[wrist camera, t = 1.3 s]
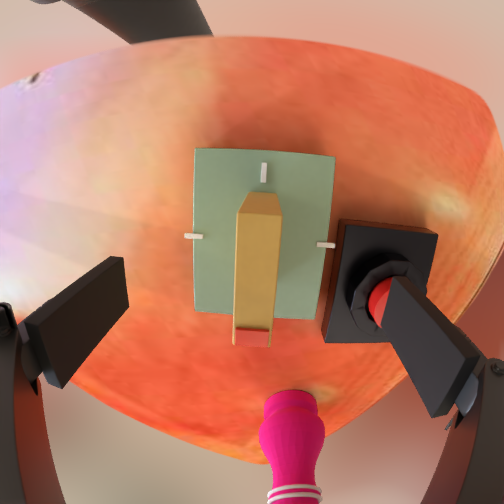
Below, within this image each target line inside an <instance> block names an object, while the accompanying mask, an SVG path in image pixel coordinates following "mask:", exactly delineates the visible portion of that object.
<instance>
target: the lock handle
mask: <svg viewBox="0 0 504 504" xmlns="http://www.w3.org/2000/svg"><path fill="white" fill-rule="evenodd" d="M282 222H283V215H282V211H281V208H280V204H279V200H278V197H277V194H276V193H264V192H249V193H248V194H247V196H246V198H245V200H244V202H243V203H242V205H241V207H240V209H239V211H238V212H237V222H236V247H235V275H234V306H233V345H239V346H252V347H270V345H271V336H272V327H273V318H274V309H275V299H276V289H277V278H278V268H279V257H280V246H281V234H282Z"/></svg>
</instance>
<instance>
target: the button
mask: <svg viewBox="0 0 504 504" xmlns="http://www.w3.org/2000/svg"><path fill="white" fill-rule="evenodd" d="M392 278H393V277H389V278H386V279H384V280H382V281H380V282H379V283H378V284H377V285H376V286H375V287H374V288H373V290H372V291H371V293H370V295H369V298H368V309H369V311H370V313H371V315H372V317H373V318H374V320H375V322H376V323H377V325H378V326H379V327H380V328H382V327H381V326H380V324H381V320H382V317H383V313H384V309H385V306H386V302H387V298H388V294H389V290H390V286H391V282H392Z"/></svg>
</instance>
